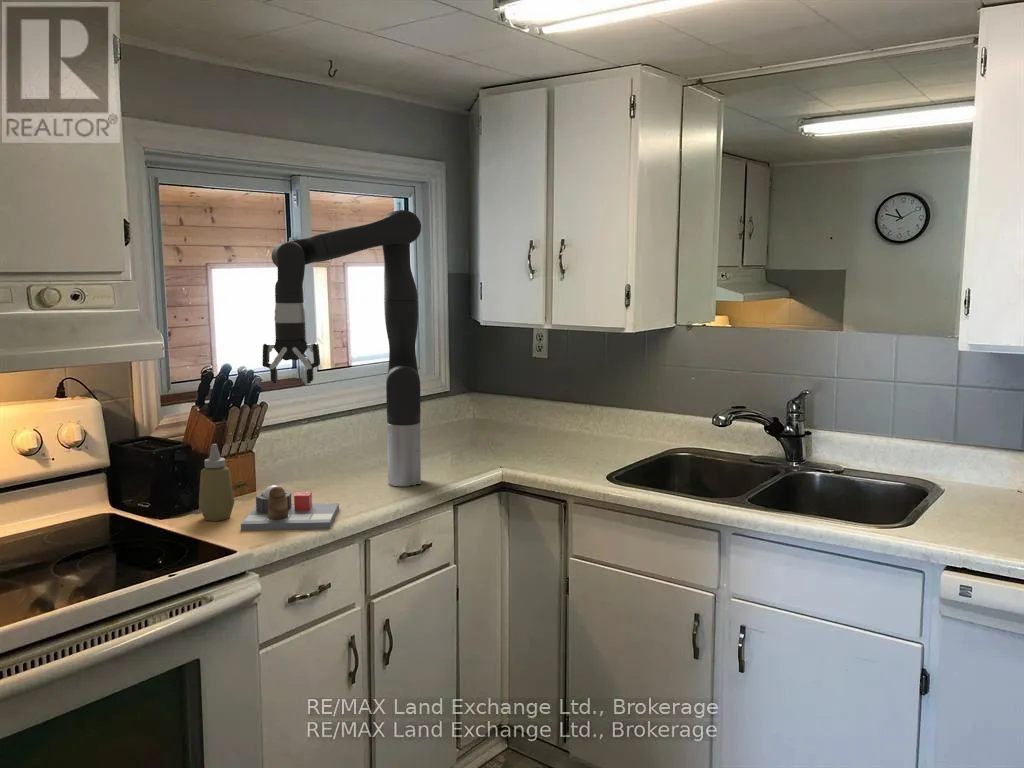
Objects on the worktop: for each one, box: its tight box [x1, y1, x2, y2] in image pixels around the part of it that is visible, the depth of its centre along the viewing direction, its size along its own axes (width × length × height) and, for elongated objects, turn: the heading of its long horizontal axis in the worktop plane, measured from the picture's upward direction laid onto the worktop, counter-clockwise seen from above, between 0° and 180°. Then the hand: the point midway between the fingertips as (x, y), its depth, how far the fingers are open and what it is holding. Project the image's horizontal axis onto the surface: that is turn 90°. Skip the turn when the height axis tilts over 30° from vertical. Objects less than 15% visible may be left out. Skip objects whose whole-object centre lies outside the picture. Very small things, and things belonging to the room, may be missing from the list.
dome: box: [263, 484, 278, 498], centre depth 197 cm, size 5×5×5 cm
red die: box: [293, 491, 313, 510], centre depth 197 cm, size 4×4×4 cm
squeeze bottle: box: [198, 443, 235, 522], centre depth 193 cm, size 8×8×18 cm
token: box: [267, 485, 288, 520], centre depth 189 cm, size 4×4×7 cm
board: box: [240, 490, 340, 531], centre depth 193 cm, size 20×16×5 cm
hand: (292, 383), depth 210 cm, fingers open, 8 cm apart
